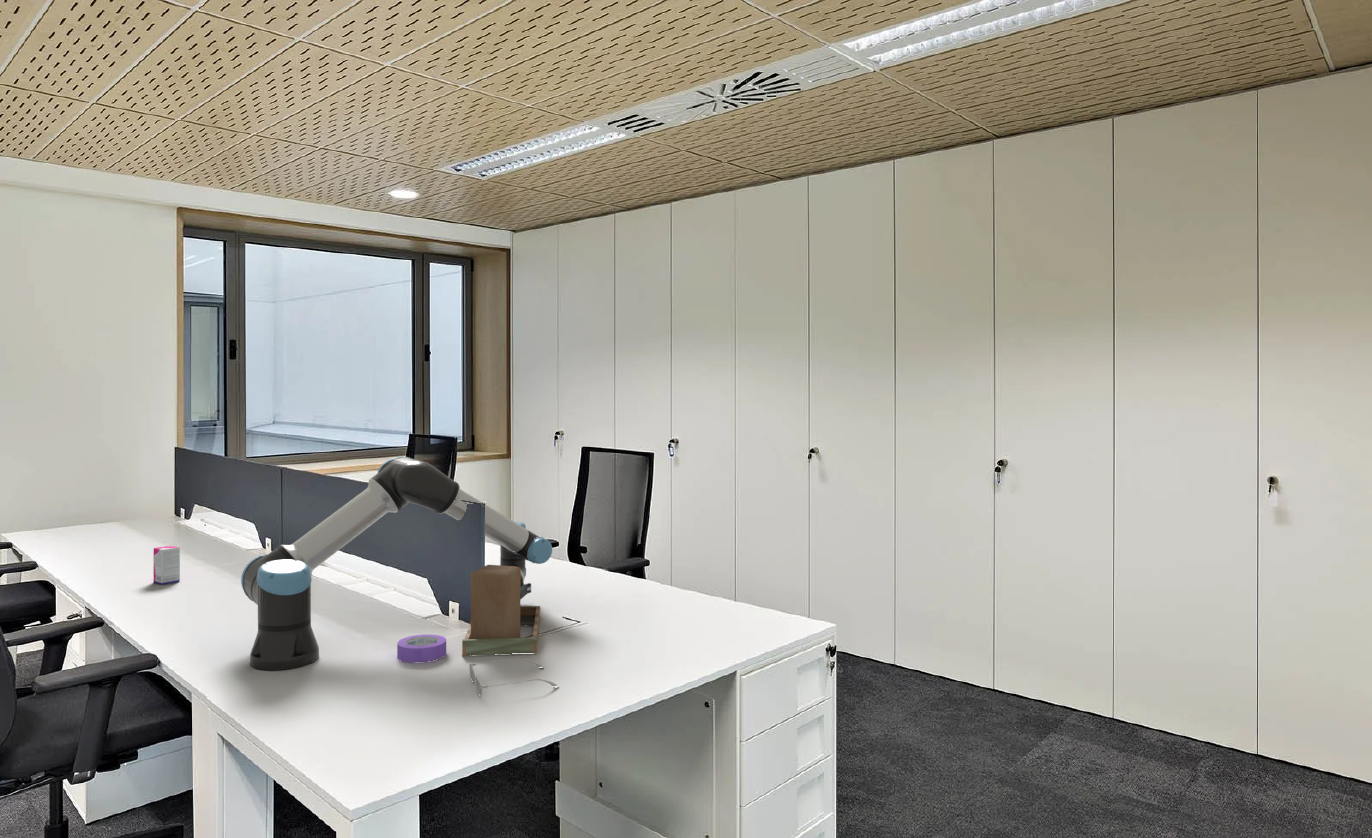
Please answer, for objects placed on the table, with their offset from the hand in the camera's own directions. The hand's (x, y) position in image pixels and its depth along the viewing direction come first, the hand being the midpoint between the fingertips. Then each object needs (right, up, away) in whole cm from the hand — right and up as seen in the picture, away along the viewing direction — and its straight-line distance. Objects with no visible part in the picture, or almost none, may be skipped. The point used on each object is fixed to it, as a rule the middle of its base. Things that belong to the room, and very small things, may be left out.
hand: (504, 603), depth 227 cm
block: (-1, -10, -6) cm, 11 cm away
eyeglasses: (+9, -12, -32) cm, 35 cm away
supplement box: (-122, -5, +53) cm, 133 cm away
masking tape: (-17, -10, -14) cm, 25 cm away
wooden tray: (-1, -9, +3) cm, 10 cm away
